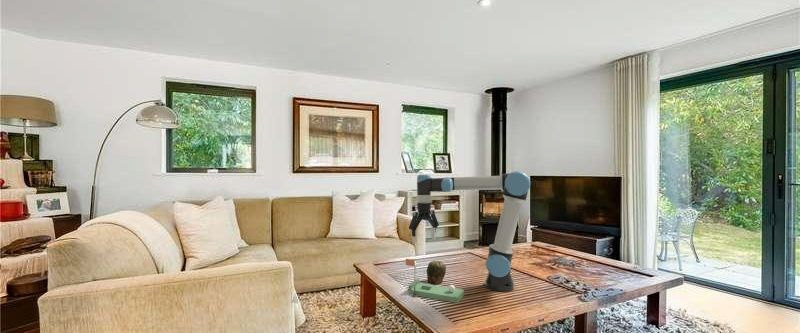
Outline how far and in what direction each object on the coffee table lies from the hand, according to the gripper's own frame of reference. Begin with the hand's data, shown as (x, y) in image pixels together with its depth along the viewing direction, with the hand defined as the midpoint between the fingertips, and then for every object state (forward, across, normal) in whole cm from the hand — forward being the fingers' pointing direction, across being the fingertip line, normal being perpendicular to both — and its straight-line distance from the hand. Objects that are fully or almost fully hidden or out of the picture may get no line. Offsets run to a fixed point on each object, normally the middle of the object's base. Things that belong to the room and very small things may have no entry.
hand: (424, 240), depth 184 cm
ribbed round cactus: (+25, -10, -1) cm, 27 cm away
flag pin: (+25, +15, +7) cm, 30 cm away
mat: (+25, +4, +13) cm, 28 cm away
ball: (+21, 0, +20) cm, 29 cm away
